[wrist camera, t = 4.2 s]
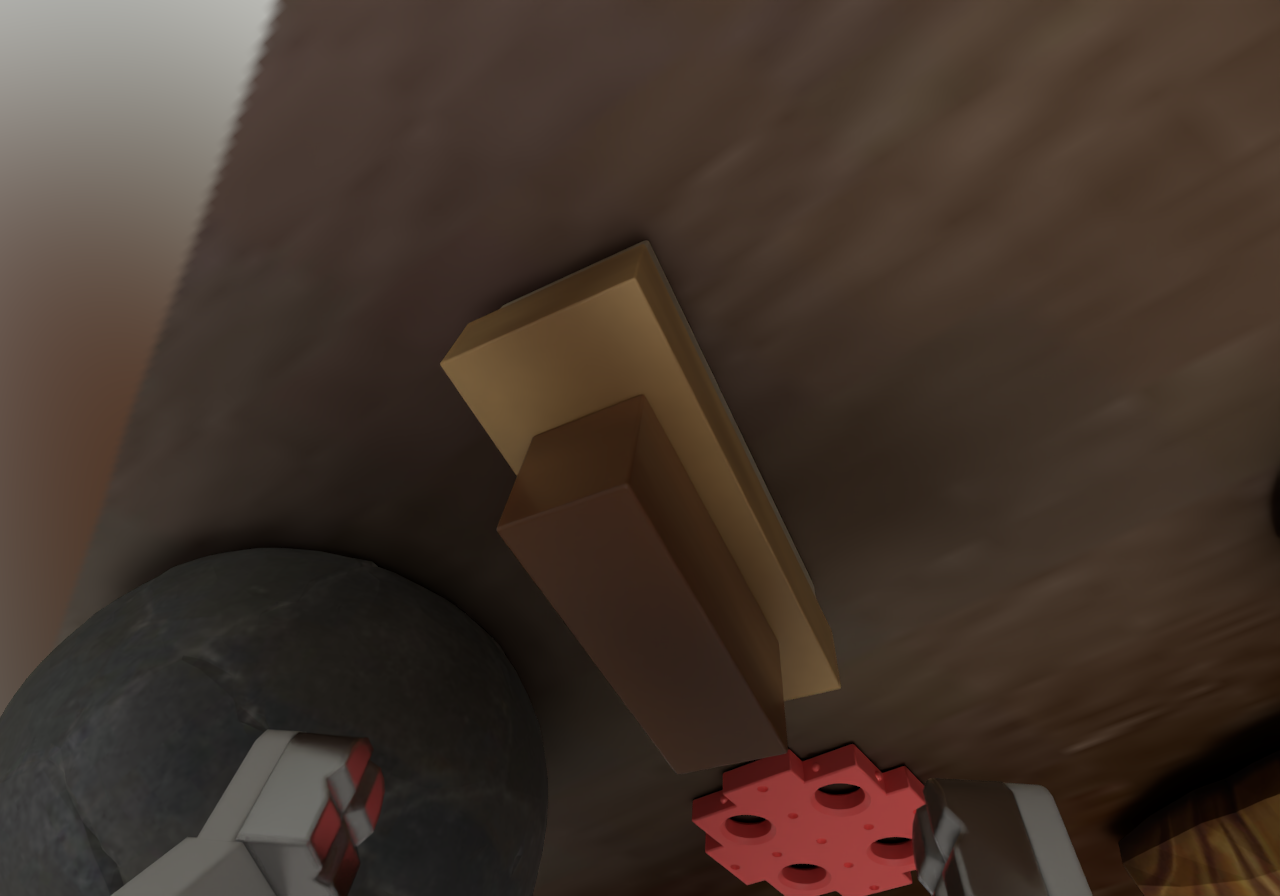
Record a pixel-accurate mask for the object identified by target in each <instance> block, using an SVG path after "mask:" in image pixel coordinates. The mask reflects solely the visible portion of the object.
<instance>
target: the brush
mask: <svg viewBox="0 0 1280 896" xmlns="http://www.w3.org/2000/svg"><path fill="white" fill-rule="evenodd" d="M440 365H441V367H442V368H443V370H444V371H445V372H446V374H447V375H448V377H449V378H450V380H451V381H452V383H453V384H454V386H455V387H456V388H457V390H458V391H459V393H460V394H461V396H462V397H463V399H464V400H465V402H466V403H467V404H468V406H469V407H470V409H471V410H472V412H473V413H474V415H475V416H476V418H477V419H478V420H479V422H480V423H481V425H482V426H483V428H484V429H485V431H486V432H487V433H488V435H489V436H490V438H491V439H492V441H493V442H494V444H495V445H496V447H497V448H498V449H499V451H500V452H501V454H502V455H503V457H504V458H505V460H506V461H507V463H508V464H509V465H510V467H511V468H512V470H513V471H514V473H515V474H516V476H517V478H516V480H515V483H514V485H513V488H512V490H511V493H510V495H509V498H508V500H507V503H506V505H505V508H504V510H503V513H502V515H501V518H500V520H499V523H498V525H497V533H498V534H499V535H500V537H501V538H502V539H503V541H504V542H505V543H506V545H507V546H508V547H509V549H510V550H511V551H512V553H513V554H514V555H515V557H516V558H517V560H518V561H519V562H520V564H521V565H522V566H523V568H524V569H525V570H526V572H527V573H528V574H529V576H530V577H531V578H532V580H533V581H534V582H535V584H536V585H537V587H538V588H539V589H540V591H541V592H542V593H543V595H544V596H545V597H546V599H547V600H548V601H549V603H550V604H551V605H552V607H553V608H554V610H555V611H556V612H557V614H558V615H559V616H560V618H561V619H562V620H563V622H564V623H565V624H566V626H567V627H568V628H569V630H570V631H571V632H572V634H573V635H574V637H575V638H576V639H577V641H578V642H579V643H580V645H581V646H582V647H583V649H584V650H585V651H586V653H587V654H588V655H589V657H590V658H591V660H592V661H593V662H594V664H595V665H596V666H597V668H598V669H599V670H600V672H601V673H602V674H603V676H604V677H605V678H606V680H607V681H608V682H609V684H610V685H611V687H612V688H613V689H614V691H615V692H616V693H617V695H618V696H619V697H620V699H621V700H622V701H623V703H624V704H625V705H626V707H627V708H628V710H629V711H630V712H631V714H632V715H633V716H634V718H635V719H636V720H637V722H638V723H639V724H640V726H641V727H642V728H643V730H644V731H645V732H646V734H647V735H648V737H649V738H650V739H651V741H652V742H653V743H654V745H655V746H656V747H657V749H658V750H659V751H660V753H661V754H662V755H663V757H664V758H665V760H666V761H667V762H668V764H669V765H670V766H671V768H672V769H673V770H674V772H675V773H676V774H678V775H680V774H685V773H690V772H695V771H701V770H706V769H711V768H716V767H721V766H726V765H731V764H736V763H741V762H746V761H751V760H757V759H762V758H767V757H772V756H777V755H782V754H786V753H787V752H788V744H787V733H786V721H785V709H784V701H787V700H792V699H796V698H801V697H805V696H810V695H814V694H819V693H823V692H828V691H833V690H837V689H840V688H841V683H840V677H839V671H838V665H837V659H836V653H835V647H834V641H833V635H832V631H831V628H830V626H829V624H828V622H827V620H826V618H825V616H824V614H823V612H822V610H821V608H820V606H819V604H818V602H817V599H816V595H815V588H814V585H813V583H812V580H811V578H810V576H809V574H808V572H807V570H806V568H805V566H804V564H803V562H802V560H801V557H800V555H799V553H798V551H797V549H796V547H795V545H794V543H793V541H792V539H791V537H790V535H789V532H788V530H787V528H786V526H785V524H784V522H783V520H782V518H781V516H780V514H779V512H778V509H777V507H776V505H775V503H774V501H773V499H772V497H771V495H770V493H769V491H768V489H767V487H766V484H765V482H764V480H763V478H762V476H761V474H760V472H759V470H758V468H757V466H756V464H755V461H754V459H753V457H752V455H751V453H750V451H749V449H748V447H747V445H746V443H745V441H744V439H743V436H742V434H741V432H740V430H739V428H738V426H737V424H736V422H735V420H734V418H733V416H732V414H731V411H730V409H729V407H728V405H727V403H726V401H725V399H724V397H723V395H722V393H721V391H720V388H719V386H718V384H717V382H716V380H715V378H714V376H713V374H712V372H711V370H710V368H709V366H708V363H707V361H706V359H705V357H704V355H703V353H702V351H701V349H700V347H699V345H698V343H697V340H696V338H695V336H694V334H693V332H692V330H691V328H690V326H689V324H688V322H687V320H686V318H685V315H684V313H683V311H682V309H681V307H680V305H679V303H678V301H677V299H676V297H675V295H674V292H673V290H672V288H671V286H670V284H669V282H668V280H667V278H666V276H665V274H664V272H663V270H662V267H661V265H660V263H659V261H658V259H657V257H656V255H655V253H654V251H653V249H652V247H651V245H650V242H648V241H647V240H646V241H642V242H640V243H638V244H636V245H634V246H631V247H629V248H627V249H625V250H623V251H621V252H618V253H616V254H614V255H612V256H610V257H607V258H605V259H603V260H601V261H599V262H596V263H594V264H592V265H590V266H588V267H586V268H583V269H581V270H579V271H577V272H575V273H572V274H570V275H568V276H566V277H564V278H562V279H559V280H557V281H555V282H553V283H551V284H548V285H546V286H544V287H542V288H540V289H537V290H535V291H533V292H531V293H529V294H527V295H524V296H522V297H520V298H518V299H516V300H513V301H511V302H509V303H507V304H505V305H503V306H502V307H501V308H500V309H499V310H497V311H495V312H492V313H490V314H488V315H486V316H484V317H481V318H479V319H477V320H475V321H473V322H470V323H468V325H467V326H466V327H465V329H464V330H463V332H462V333H461V334H460V336H459V337H458V339H457V340H456V342H455V343H454V344H453V346H452V347H451V349H450V350H449V352H448V353H447V354H446V356H445V357H444V359H443V360H442V361H441V363H440Z"/></svg>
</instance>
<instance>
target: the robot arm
mask: <svg viewBox="0 0 1280 896" xmlns="http://www.w3.org/2000/svg"><path fill="white" fill-rule="evenodd" d="M373 751H374V749H373V747H372V745H371V743H370V740H369V738H368V737H360V736H346V735H332V734H319V733H307V732H302V731H286V730H269V729H267V730H266V731H265V732H264V733H263V734H262V735H261V736H260V737H259V738H258V739H257V740H256V741H255V742H254V744H253V745H252V747H251V749H250V750H249V752H248V754H247V755H246V757H245V759H244V760H243V762H242V764H241V765H240V767H239V769H238V770H237V772H236V774H235V775H234V777H233V779H232V780H231V782H230V784H229V785H228V787H227V789H226V790H225V792H224V794H223V795H222V797H221V799H220V800H219V802H218V803H217V805H216V807H215V808H214V810H213V812H212V813H211V815H210V817H209V818H208V820H207V822H206V823H205V825H204V827H203V828H202V830H201V832H200V833H199V835H198V837H187V838H185V839H184V840H183V841H181V842H180V843H179V844H178V845H176V846H175V847H174V848H172V849H171V850H170V851H168V852H167V853H166V854H164V855H163V856H162V857H161V858H159V859H158V860H157V861H155V862H154V863H153V864H151V865H150V866H149V867H147V868H146V869H145V870H143V871H142V872H141V873H140V874H138V875H137V876H136V877H134V878H133V879H132V880H130V881H129V882H128V883H126V884H125V885H124V886H123V887H121V888H120V889H119V890H117V891H116V892H115V893H113V894H112V895H111V896H348V894H349V892H350V889H351V887H352V884H353V882H354V879H355V877H356V874H357V872H358V869H359V867H360V865H361V861H360V857H359V853H358V848H357V846H359V845H360V844H361V843H362V842H363V841H364V840H365V839H366V838H368V837H369V836H370V835H371V834H372V833H373V832H374V829H375V827H376V824H377V822H378V819H379V816H380V814H381V810H382V804H383V799H384V794H385V784H384V776H383V773H382V770H381V768H380V767H379V766H378V765H376V764H375V763H374V762H372V761H371V760H370V758H371V756H372V754H373ZM923 794H924V799H925V803H926V804H925V805H923V806H921V807H919V808H918V809H916V813H915V816H914V820H913V827H912V846H913V855H914V862H915V867H916V872H917V877H918V879H919V881H920V882H921V883H922V884H923V885H924V887H925V888H926V889H927V890H928V891H929V893H930V894H931V895H932V896H1093V895H1092V893H1091V890H1090V888H1089V885H1088V883H1087V880H1086V878H1085V875H1084V873H1083V870H1082V868H1081V865H1080V863H1079V861H1078V858H1077V856H1076V853H1075V851H1074V848H1073V846H1072V843H1071V841H1070V838H1069V836H1068V833H1067V831H1066V828H1065V826H1064V823H1063V821H1062V818H1061V816H1060V813H1059V811H1058V808H1057V806H1056V803H1055V801H1054V798H1053V796H1052V795H1051V794H1050V792H1049V791H1048V790H1047V789H1046V788H1045V787H1043V786H1041V785H1032V784H1017V783H1003V782H997V781H978V780H960V779H941V778H931V779H929V780H927V781H926V784H925V786H924V789H923Z"/></svg>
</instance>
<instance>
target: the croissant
mask: <svg viewBox="0 0 1280 896" xmlns="http://www.w3.org/2000/svg"><path fill="white" fill-rule="evenodd" d="M1119 847H1120V852H1121V857H1122V862H1123V865H1124V867H1125V868H1126V870H1127V872H1128V874H1129V875H1130V876H1131V878H1132V879H1133V880H1134V882H1135V883H1136V885H1137V886H1138V887H1139V889H1140V890H1141V891H1142V893H1143V894H1144V895H1145V896H1280V750H1279V751H1277V752H1275V753H1273V754H1271V755H1269V756H1266V757H1264V758H1262V759H1260V760H1258V761H1256V762H1254V763H1252V764H1250V765H1248V766H1247V767H1245V768H1243V769H1242V770H1240V771H1238V772H1236V773H1235V774H1233V775H1231V776H1229V777H1228V778H1226V779H1223V780H1220V781H1217V782H1215V783H1212V784H1209V785H1206V786H1203V787H1201V788H1198V789H1195V790H1193V791H1191V792H1190V793H1188V794H1186V795H1185V796H1183V797H1181V798H1179V799H1178V800H1176V801H1174V802H1173V803H1171V804H1169V805H1168V806H1166V807H1164V808H1162V809H1161V810H1159V811H1157V812H1156V813H1154V814H1152V815H1151V816H1149V817H1147V818H1146V819H1145V820H1144V821H1143V822H1142V823H1140V824H1139V825H1138V826H1137V827H1136V828H1135V829H1133V830H1132V831H1131V832H1130V833H1129V834H1128V835H1126V836H1125V837H1124V838H1123V839H1122V840H1121V841H1120V842H1119Z"/></svg>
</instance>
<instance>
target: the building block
mask: <svg viewBox="0 0 1280 896" xmlns="http://www.w3.org/2000/svg"><path fill="white" fill-rule="evenodd" d="M836 783H845V784H852V785H856V786H858V787H861V788H859V789H858V790H856V791H853V792H850V793H845V794H830V793H825V792H822V791H819V790H817V789H819V788H820V787H823V786H826V785H829V784H836ZM923 789H924V785H923V784H922V783H921V782H920V781H919V780H918V779H917V778H916V777H915V776H914V775H913V774H912V773H911V772H910V770H909V769H908V768H907V767H906V766H902V767H899V768H896V769H893V770H890V771H887V772H884V773H882V772H881V771H880V770H879V769H878V768H877V767H876V766H875V765H874V764H873V763H872V762H871V761H870V760H869V759H868V758H867V757H866V756H865V755H864V754H863V753H862V752H861V751H860V750H859V749H858V748H857V747H856V746H855V745H854V744H850V745H847V746H844V747H842V748H839V749H836V750H833V751H830V752H827V753H825V754H822V755H819V756H816V757H813V758H811V759H808V760H805V761H801V760H800V759H799V758H798V757H797V756H796V755H795V754H794V753H793V752H792V751H791V750H790V749H788V752H787V753H786V754H782V755H777V756H772V757H767V758H763V759H760V760H757V761H754V762H752V763H749V764H746V765H744V766H741V767H738V768H735V769H733V770H730V771H727V772H725V773H723V790H721V791H718V792H715V793H712V794H709V795H707V796H704V797H701V798H698V799H695V800H693V808H692V822H694V823H695V824H696V825H697V826H699V827H700V828H701V829H702V830H704V831H705V832H706V842H705V852H706V853H707V854H708V855H709V856H711V857H712V858H713V859H714V860H716V861H717V862H718V863H720V864H721V865H722V866H723V867H725V868H726V869H727V870H729V871H730V872H731V873H732V874H734V875H735V876H736V877H737V878H739V879H740V880H741V881H743V882H744V883H745V884H746V885H749V884H753V883H756V882H760V881H763V880H766V881H767V882H768V883H770V884H771V885H772V886H773V887H775V888H776V889H777V890H778V891H780V892H781V893H782V894H783V895H785V896H818V895H822V894H825V893H829V892H833V891H837V892H839V893H840V894H841V895H842V896H866V895H870V894H873V893H877V892H881V891H885V890H889V889H893V888H897V887H901V886H905V885H908V884H912V877H911V872H910V871H912V870H916V867H915V862H914V855H913V846H912V827H913V820H914V816H915V813H916V809H918V808H919V807H921V806H923V805H925V804H926V803H925V799H924V794H923ZM737 815H755V816H759V817H762V818H765V819H766V820H764V821H761V822H756V823H744V822H738V821H735V820H732V819H730V817H733V816H737ZM888 837H904V838H909V839H910V840H908V841H905V842H901V843H894V844H887V843H880V842H876V841H877V840H879V839H883V838H888ZM793 864H813V865H817V867H813V868H795V867H791V866H789V865H793Z"/></svg>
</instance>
